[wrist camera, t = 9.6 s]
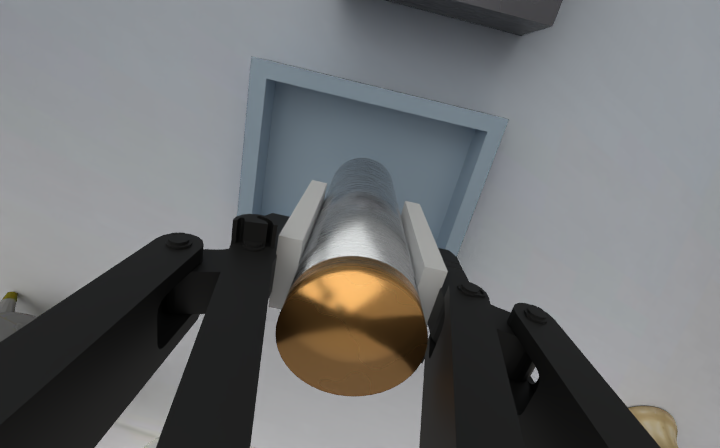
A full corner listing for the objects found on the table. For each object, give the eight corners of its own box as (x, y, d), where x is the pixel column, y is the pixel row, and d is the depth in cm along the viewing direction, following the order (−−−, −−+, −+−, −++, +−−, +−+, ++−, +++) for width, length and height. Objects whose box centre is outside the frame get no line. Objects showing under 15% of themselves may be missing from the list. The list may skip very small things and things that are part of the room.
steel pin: (337, 151, 21) (286, 260, 8) (400, 165, 21) (448, 294, 8) (326, 210, 22) (267, 381, 10) (384, 222, 23) (404, 406, 10)
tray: (248, 220, 27) (235, 236, 24) (265, 59, 23) (251, 56, 20) (439, 261, 28) (447, 281, 25) (492, 115, 24) (508, 119, 21)
